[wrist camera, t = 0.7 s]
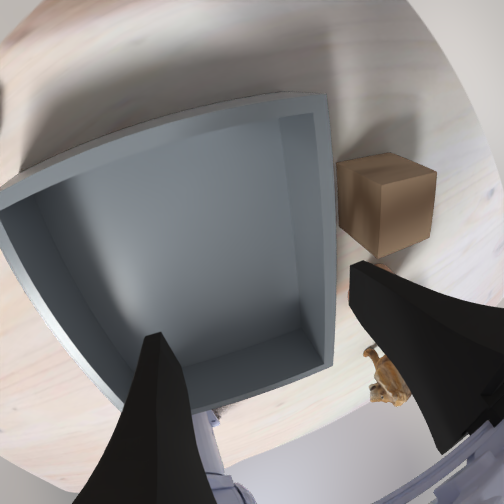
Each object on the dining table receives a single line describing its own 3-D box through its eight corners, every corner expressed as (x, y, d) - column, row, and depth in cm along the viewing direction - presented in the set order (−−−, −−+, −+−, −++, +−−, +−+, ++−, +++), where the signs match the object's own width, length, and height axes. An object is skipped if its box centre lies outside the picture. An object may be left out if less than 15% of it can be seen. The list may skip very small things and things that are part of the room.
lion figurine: (336, 357, 31) (376, 419, 24) (367, 322, 30) (416, 383, 22) (393, 368, 38) (426, 412, 31) (417, 342, 37) (454, 384, 30)
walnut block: (387, 210, 23) (429, 237, 19) (338, 225, 22) (377, 259, 18) (389, 152, 20) (437, 171, 16) (335, 162, 19) (381, 185, 15)
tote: (307, 326, 27) (332, 365, 22) (133, 380, 24) (137, 427, 20) (283, 91, 16) (326, 93, 12) (18, 173, 13) (-21, 203, 9)
